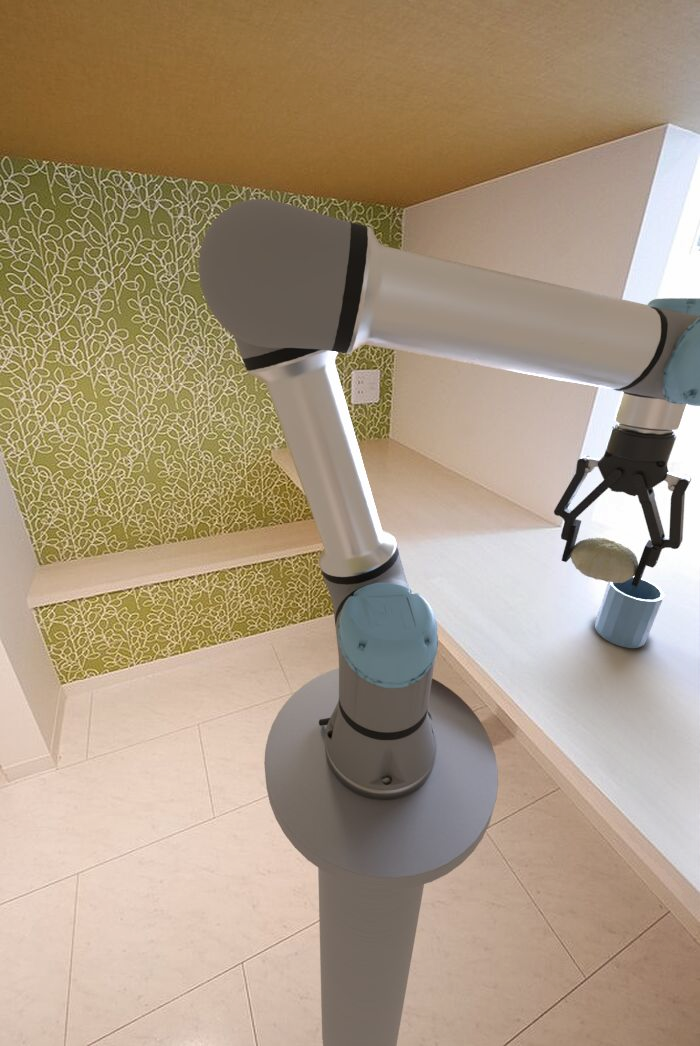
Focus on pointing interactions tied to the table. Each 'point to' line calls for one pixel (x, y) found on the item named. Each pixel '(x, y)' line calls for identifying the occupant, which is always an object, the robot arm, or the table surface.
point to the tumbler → (628, 612)
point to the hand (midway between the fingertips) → (599, 569)
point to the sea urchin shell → (604, 560)
